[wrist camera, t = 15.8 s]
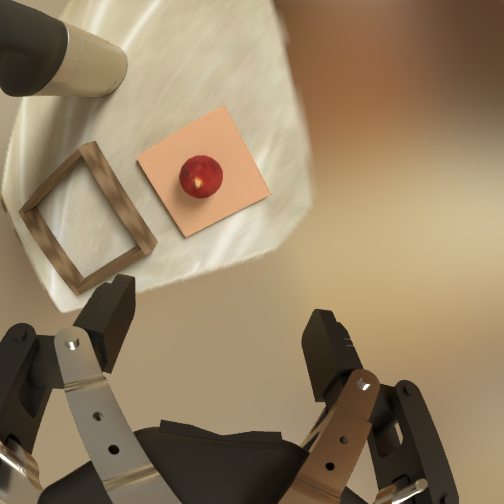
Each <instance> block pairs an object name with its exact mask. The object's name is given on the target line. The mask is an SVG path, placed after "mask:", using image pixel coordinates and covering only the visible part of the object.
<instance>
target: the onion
mask: <svg viewBox="0 0 504 504" xmlns="http://www.w3.org/2000/svg"><path fill="white" fill-rule="evenodd" d="M179 179H180V184H181V186H182V188H183V190H184V191H185V192H186V193H187V194H188V195H190V196H192V197H195V198H198V199H202V198H208V197H209V196H211V195H213V194H215V193H216V192H217V190H218V189H219V188H220V186H221V184H222V181H223V170H222V168H221V166H220V165H219V163H218V162H217V161H215V160H214V159H213V158H211V157H208V156H206V155H197V156H194V157H192V158H190V159H188V160H187V161H186V162H185V163H184V165H183V166H182V167H181V170H180V175H179Z"/></svg>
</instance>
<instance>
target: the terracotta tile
mask: <svg viewBox="0 0 504 504" xmlns="http://www.w3.org/2000/svg"><path fill="white" fill-rule="evenodd" d="M197 155H206V156H208V157H211V158H213V159H214V160H215V161H217V162H218V163H219V165H220V166H221V168H222V170H223V181H222V184H221V186H220V188H219V189H218V190H217V192H216V193H215V194H213V195H211V196H209V197H208V198H202V199H198V198H195V197H192V196H190V195H188V194H187V193H186V192H185V191H184V190H183V188H182V186H181V184H180V179H179V175H180V170H181V167H182V166H183V165H184V163H185V162H186V161H187V160H188V159H190V158H192V157H194V156H197ZM136 158H137V160H138V162H139V163H140V165H141V167H142V168H143V170H144V172H145V173H146V175H147V177H148V178H149V180H150V182H151V183H152V185H153V187H154V188H155V190H156V191H157V193H158V195H159V196H160V198H161V200H162V201H163V203H164V204H165V206H166V208H167V209H168V211H169V212H170V214H171V215H172V217H173V219H174V220H175V222H176V223H177V225H178V226H179V228H180V230H181V231H182V233H183V234H184V236H185V237H188V236H190V235H192V234H194V233H196V232H197V231H199V230H201V229H203V228H205V227H207V226H209V225H211V224H213V223H215V222H217V221H219V220H221V219H223V218H225V217H227V216H229V215H231V214H233V213H235V212H237V211H239V210H241V209H243V208H245V207H247V206H249V205H251V204H253V203H255V202H257V201H259V200H261V199H263V198H265V197H267V196H269V195H271V193H270V191H269V189H268V187H267V185H266V183H265V181H264V179H263V177H262V175H261V173H260V171H259V169H258V167H257V165H256V163H255V162H254V160H253V158H252V156H251V154H250V152H249V150H248V148H247V146H246V144H245V143H244V141H243V139H242V137H241V135H240V133H239V131H238V129H237V128H236V126H235V124H234V122H233V120H232V118H231V117H230V115H229V113H228V111H227V109H226V108H225V106H222V107H220V108H218V109H216V110H214V111H212V112H211V113H209V114H207V115H205V116H203V117H201V118H199V119H198V120H196V121H194V122H192V123H191V124H189V125H187V126H185V127H184V128H182V129H180V130H179V131H177V132H175V133H174V134H172V135H170V136H169V137H167V138H165V139H164V140H162V141H161V142H159V143H158V144H156V145H154V146H153V147H151V148H150V149H148V150H147V151H145V152H144V153H142V154H141V155H139V156H138V157H136Z"/></svg>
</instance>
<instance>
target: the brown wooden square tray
mask: <svg viewBox="0 0 504 504" xmlns="http://www.w3.org/2000/svg"><path fill="white" fill-rule="evenodd" d="M83 160H85V161H86V163H87V165H88V167H89V168H90V170H91V172H92V173H93V175H94V177H95V179H96V180H97V182H98V184H99V185H100V187H101V189H102V190H103V192H104V193H105V195H106V197H107V198H108V200H109V201H110V203H111V205H112V206H113V208H114V209H115V211H116V212H117V214H118V216H119V217H120V219H121V220H122V222H123V223H124V225H125V226H126V228H127V229H128V231H129V232H130V234H131V235H132V236H133V238H134V239H135V241H136V242H137V244H138V246H136V247H134V248H133V249H131V250H129V251H128V252H126V253H124V254H123V255H121V256H119V257H118V258H116V259H114V260H113V261H111V262H110V263H108V264H106V265H105V266H103V267H102V268H100V269H99V270H97V271H95V272H94V273H92V274H91V275H89V276H88V277H86V278H85V279H84V278H83V276H82V275H81V274H80V272H79V271H78V270H77V268H76V267H75V266H74V264H73V263H72V261H71V260H70V259H69V257H68V256H67V254H66V253H65V252H64V250H63V249H62V247H61V246H60V244H59V243H58V241H57V240H56V238H55V237H54V235H53V234H52V232H51V231H50V229H49V227H48V226H47V224H46V223H45V221H44V219H43V218H42V216H41V214H40V213H39V211H38V209H37V208H36V206H37V204H38V203H39V202H40V201H41V200H42V199H43V198H44V197H45V196H46V195H47V194H48V193H49V192H50V191H51V190H52V189H53V188H54V187H55V186H56V185H57V184H58V183H59V182H60V181H61V180H62V179H63V178H64V177H65V176H66V175H67V174H68V173H69V172H70V171H72V170H73V169H74V168H75V167H76V166H77V165H78V164H79V163H80V162H82V161H83ZM19 214H20V216H21V217H22V219H23V221H24V223H25V224H26V226H27V228H28V229H29V231H30V232H31V234H32V236H33V237H34V239H35V240H36V242H37V243H38V245H39V246H40V248H41V249H42V251H43V252H44V254H45V255H46V257H47V258H48V260H49V261H50V263H51V264H52V265H53V267H54V268H55V269H56V271H57V272H58V274H59V275H60V276H61V278H62V279H63V280H64V282H65V283H66V284H67V285H68V287H69V288H70V289H71V290H72V292H73V293H74V294H75V295H76V297H77V296H78V295H80V294H81V293H83V292H85V291H86V290H88V289H90V288H91V287H93V286H94V285H96V284H98V283H99V282H101V281H103V280H104V279H106V278H108V277H110V276H111V275H113V274H115V273H116V272H118V271H120V270H121V269H123V268H125V267H127V266H128V265H130V264H132V263H134V262H135V261H137V260H139V259H141V258H142V257H144V256H146V255H148V254H149V253H151V252H152V251H153V249H154V247H155V245H156V244H157V242H158V241H157V240H156V238H155V237H154V235H153V234H152V232H151V231H150V229H149V228H148V226H147V225H146V223H145V222H144V220H143V219H142V217H141V216H140V214H139V212H138V211H137V209H136V208H135V206H134V205H133V203H132V202H131V200H130V198H129V197H128V195H127V194H126V192H125V190H124V189H123V187H122V185H121V184H120V182H119V181H118V179H117V177H116V176H115V174H114V172H113V170H112V169H111V167H110V165H109V164H108V162H107V160H106V159H105V157H104V155H103V153H102V152H101V150H100V148H99V146H98V144H97V143H96V141H94V142H90V143H86V144H83V145H82V146H81V147H80V148H79V149H77V150H76V151H75V152H74V153H73V154H72V155H71V156H70V157H69V158H68V159H67V160H66V161H65V162H63V163H62V164H61V165H60V166H59V167H58V168H57V169H56V170H55V171H54V172H53V173H52V174H51V175H50V177H49V178H48V179H47V180H46V181H45V182H44V183H43V184H42V185H41V186H40V187H39V188H38V189H37V190H36V192H35V193H34V194H33V195H32V196H31V197H30V198H29V200H28V201H27V202H26V203H25V204H24V205H23V207H22V208H21V209H20V210H19Z"/></svg>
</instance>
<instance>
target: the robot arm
mask: <svg viewBox="0 0 504 504" xmlns="http://www.w3.org/2000/svg"><path fill="white" fill-rule="evenodd" d="M127 66H128V64H127V57H126V54H125V53H124V51H123V50H122V49H121V48H119V47H117V46H115V45H113V44H111V43H109V42H108V41H106V40H104V39H102V38H100V37H98V36H96V35H93V34H91V33H89V32H87V31H85V30H82V29H80V28H77V27H75V26H72V25H70V24H67V23H65V22H63V21H60V20H57V19H55V18H52V17H50V16H48V15H47V14H45V13H43V12H41V11H38V10H36V9H33V8H31V7H28V6H25V5H23V4H20V3H17V2H15V1H12V0H0V87H1V89H2V91H3V92H4V93H5V94H7V95H9V96H13V97H14V96H15V97H23V96H79V97H103V96H106V95H108V94H110V93H111V92H113V91H114V90H115V89H116V88H117V87H118V86H119V85H120V84H121V82H122V80H123V79H124V77H125V74H126V72H127ZM135 304H136V303H135V277H132V276H128V275H123V274H117V275H116V277H115V279H114V280H113V282H112V283H106V282H105V283H104V284H102V285H100V286H99V287H97V288H96V290H95V291H94V293H93V294H92V297H90V299H89V300H88V302H87V303H86V305H85V306H84V308H83V310H82V311H81V313H80V314H79V316H78V318H77V319H76V321H75V322H74V324H73V326H70V327H65V328H63V329H61V330H60V331H59V332H58V333H57V334H56V336H46V335H36V332H35V330H34V328H33V327H32V326H31V325H29V324H26V323H19V324H16V325H14V326H12V327H11V328H10V329H9V330H8V331H7V333H6V334H5V336H4V337H3V339H2V340H1V342H0V499H1V500H3V501H4V502H6V503H7V504H368V503H367V502H365V501H364V500H363V499H362V498H360V497H359V496H358V495H357V494H355V493H354V492H353V491H352V490H350V489H349V488H348V487H347V486H346V484H347V482H348V480H349V478H350V475H351V474H352V472H353V470H354V467H355V465H356V463H357V461H358V459H359V456H360V454H361V452H362V449H363V447H364V445H365V442H366V440H367V441H368V445H369V449H370V453H371V458H372V462H373V466H374V470H375V475H376V480H377V485H378V489H379V493H378V494H377V496H376V499H375V501H374V502H373V504H459V496H458V492H457V489H456V486H455V482H454V479H453V475H452V473H451V469H450V466H449V463H448V460H447V457H446V455H445V452H444V449H443V446H442V443H441V441H440V438H439V435H438V433H437V430H436V428H435V425H434V423H433V420H432V418H431V415H430V413H429V411H428V408H427V406H426V404H425V401H424V399H423V397H422V394H421V392H420V390H419V388H418V387H417V386H416V385H415V384H414V383H412V382H411V381H408V380H401V381H399V382H398V383H397V384H396V385H395V386H394V387H391V386H388V385H384V384H380V382H379V380H378V378H377V377H376V376H375V375H374V374H373V373H372V372H370V371H368V370H365V369H363V366H362V364H361V361H360V359H359V357H358V354H357V352H356V350H355V347H353V343H352V341H351V340H350V336H349V334H348V331H347V330H346V329H345V327H344V326H343V325H342V324H341V323H340V322H337V321H336V319H335V317H334V314H333V312H332V311H330V310H321V309H315V310H314V311H313V313H312V315H311V317H310V319H309V321H308V324H307V326H306V328H305V330H304V332H303V335H302V342H301V343H302V349H303V353H304V356H305V360H306V364H307V369H308V373H309V377H310V381H311V385H312V389H313V394H314V398H315V402H325V404H326V407H325V408H324V409H323V411H322V413H321V414H320V416H319V417H318V419H317V421H316V422H315V424H314V426H313V427H312V429H311V430H310V432H309V434H308V435H307V437H306V438H305V439H304V441H303V442H302V443H301V444H300V446H298V445H296V444H294V443H292V442H288V441H286V440H282V436H281V432H263V431H261V432H260V431H251V432H244V433H238V434H231V435H218V434H215V433H212V432H210V431H207V430H203V429H201V428H198V427H195V426H193V425H189V424H183V423H177V422H171V421H166V420H161V423H160V427H150V428H144V429H141V430H137V431H135V432H132V430H131V428H130V426H129V425H128V423H127V421H126V419H125V417H124V415H123V413H122V411H121V409H120V407H119V405H118V403H117V401H116V399H115V397H114V395H113V392H112V390H111V388H110V386H109V383H108V381H107V379H106V377H104V376H103V372H106V373H110V374H111V372H112V370H113V367H114V364H115V362H116V359H117V357H118V354H119V352H120V349H121V346H122V344H123V341H124V339H125V337H126V334H127V332H128V329H129V327H130V324H131V322H132V320H133V317H134V313H135V306H136V305H135ZM53 388H57V389H64V391H65V394H66V397H67V400H68V403H69V407H70V410H71V412H72V415H73V418H74V421H75V423H76V426H77V429H78V431H79V434H80V436H81V438H82V441H83V443H84V446H85V448H86V450H87V452H88V454H89V457H90V459H91V460H90V461H89V462H87V463H86V464H84V465H82V466H81V467H79V468H78V469H76V470H74V471H73V472H71V473H70V474H68V475H66V476H65V477H63V478H61V479H60V480H58V481H56V482H55V483H53V484H51V485H49V486H48V487H47V488H45V489H44V490H43V488H42V487H41V485H40V481H39V468H38V464H37V462H36V461H35V459H34V458H33V457H32V456H31V454H32V450H33V447H34V443H35V439H36V436H37V433H38V429H39V426H40V423H41V420H42V416H43V414H44V411H45V408H46V405H47V402H48V399H49V397H50V394H51V392H52V389H53ZM397 423H399V426H400V429H401V433H402V436H403V441H402V444H400V441H399V438H398V435H397V432H396V428H395V424H397Z"/></svg>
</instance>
